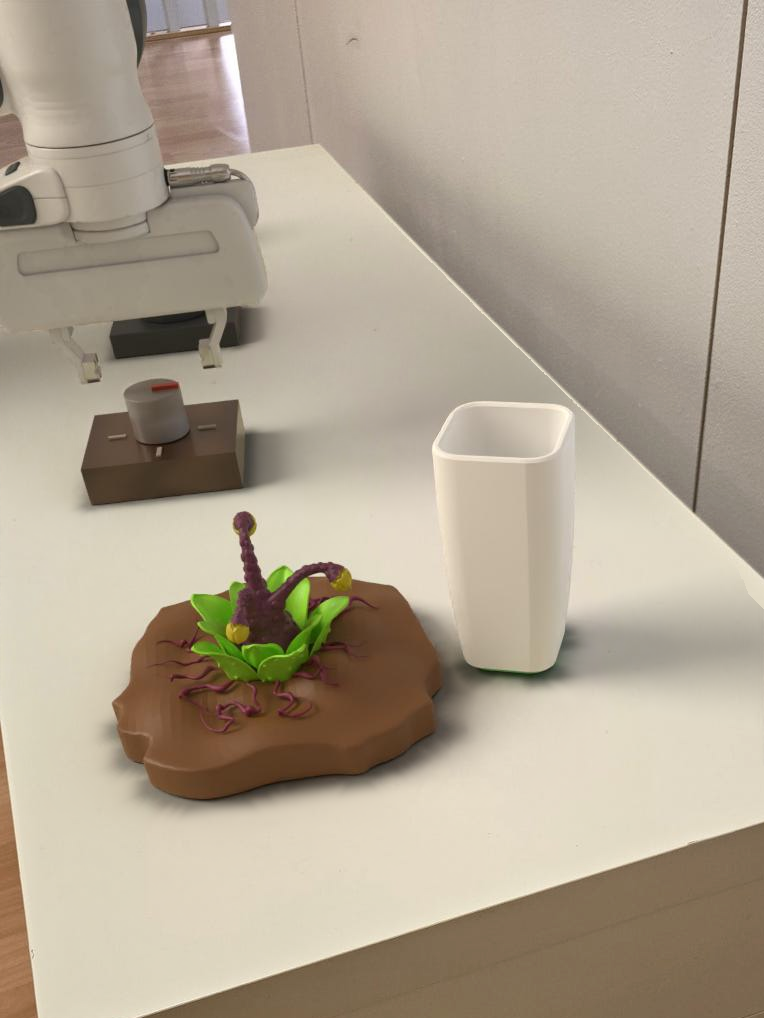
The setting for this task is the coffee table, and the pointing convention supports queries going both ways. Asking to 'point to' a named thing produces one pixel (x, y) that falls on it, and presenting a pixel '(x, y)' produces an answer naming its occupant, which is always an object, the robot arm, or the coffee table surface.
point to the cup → (507, 529)
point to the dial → (156, 411)
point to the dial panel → (165, 456)
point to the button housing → (170, 333)
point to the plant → (277, 681)
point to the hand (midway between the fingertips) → (152, 373)
